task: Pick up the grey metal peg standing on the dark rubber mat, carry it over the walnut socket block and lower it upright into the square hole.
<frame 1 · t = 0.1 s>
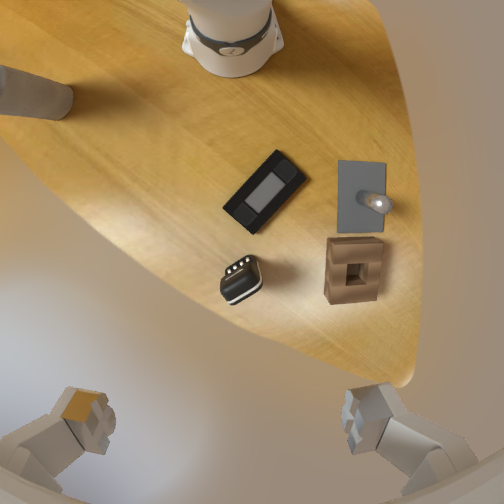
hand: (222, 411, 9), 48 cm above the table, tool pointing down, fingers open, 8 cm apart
mat: (361, 197, 55), on the table
peg: (362, 197, 54), resting on mat
hole block: (348, 265, 59), on the table
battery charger: (240, 265, 58), on the table
vhs tape: (263, 191, 55), on the table
thermos bottle: (59, 102, 46), on the table
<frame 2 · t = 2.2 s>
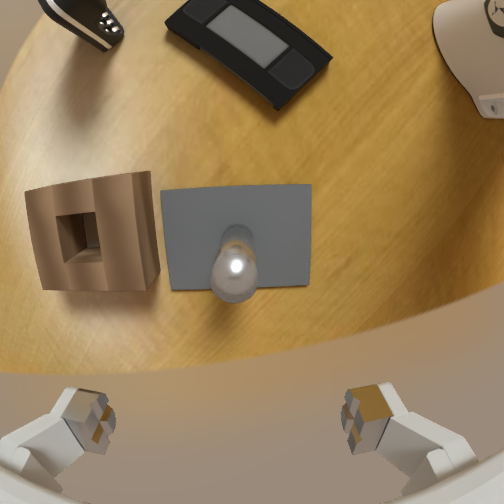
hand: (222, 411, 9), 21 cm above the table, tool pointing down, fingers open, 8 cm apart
mat: (237, 238, 29), on the table
peg: (237, 239, 28), resting on mat
hole block: (101, 225, 28), on the table
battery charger: (107, 26, 21), on the table
vhs tape: (247, 41, 23), on the table
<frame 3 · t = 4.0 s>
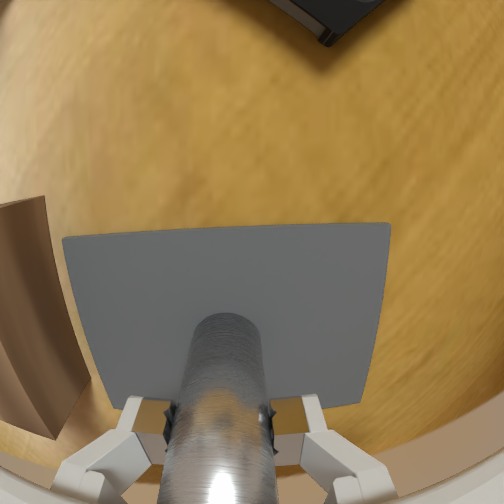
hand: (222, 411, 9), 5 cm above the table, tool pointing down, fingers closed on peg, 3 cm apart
mat: (227, 337, 13), on the table
peg: (226, 342, 13), resting on mat, touching gripper
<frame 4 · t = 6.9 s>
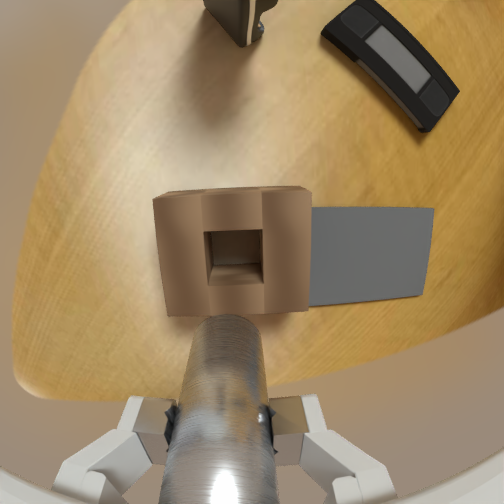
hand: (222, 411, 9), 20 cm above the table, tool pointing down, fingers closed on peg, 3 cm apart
mat: (374, 255, 29), on the table
peg: (227, 343, 13), point 16 cm above the table, touching gripper
hole block: (235, 241, 28), on the table
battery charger: (238, 18, 22), on the table
vhs tape: (390, 63, 23), on the table
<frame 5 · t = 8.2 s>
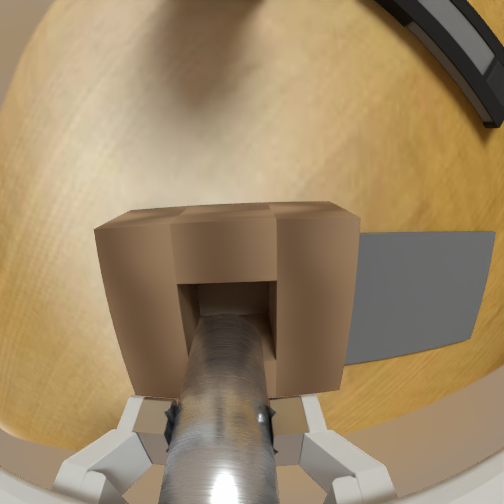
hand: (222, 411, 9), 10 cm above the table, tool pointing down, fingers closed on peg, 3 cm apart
mat: (422, 296, 20), on the table
peg: (227, 343, 13), point 6 cm above the table, touching gripper
hole block: (232, 284, 19), on the table
vhs tape: (445, 34, 14), on the table
when the fingers open (6 cm above the table, at t = 9.3 s): peg drops 2 cm, resting in hole block.
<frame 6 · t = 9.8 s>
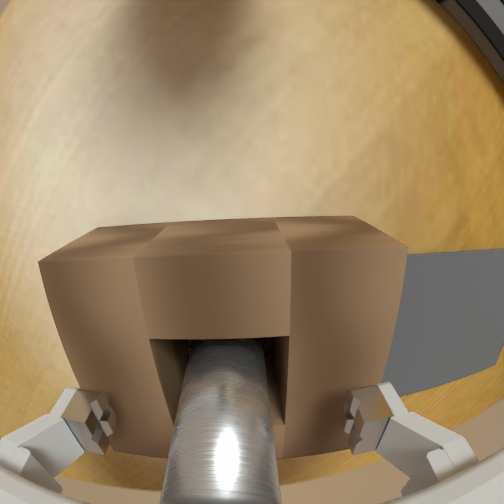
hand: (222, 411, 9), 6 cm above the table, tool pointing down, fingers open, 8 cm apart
mat: (452, 325, 15), on the table
peg: (229, 321, 14), resting in hole block
hole block: (227, 320, 14), on the table
vhs tape: (479, 18, 10), on the table
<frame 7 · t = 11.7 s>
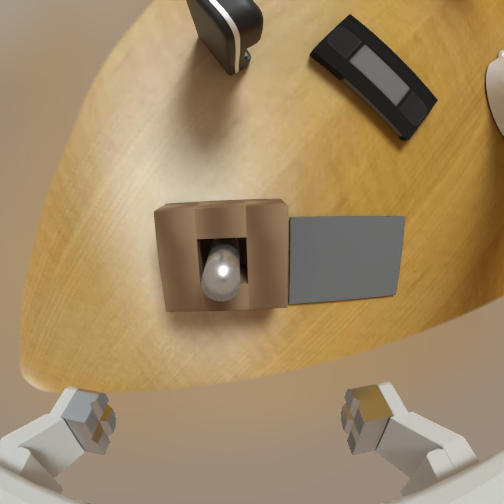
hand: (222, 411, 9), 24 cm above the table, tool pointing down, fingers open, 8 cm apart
mat: (348, 259, 33), on the table
peg: (225, 247, 32), resting in hole block
hole block: (224, 246, 32), on the table
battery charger: (228, 47, 26), on the table
vhs tape: (373, 78, 28), on the table
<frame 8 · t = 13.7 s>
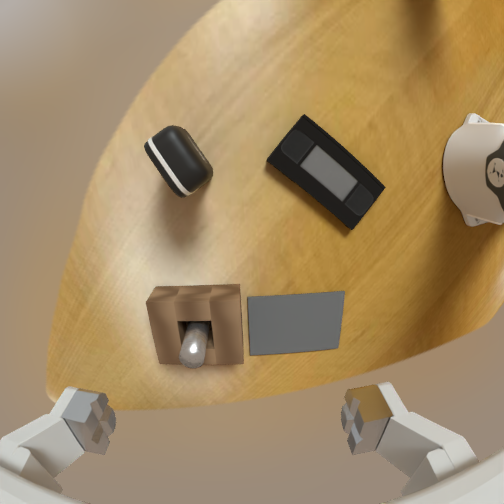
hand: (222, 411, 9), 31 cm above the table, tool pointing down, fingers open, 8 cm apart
mat: (296, 324, 43), on the table
peg: (200, 317, 42), resting in hole block
hole block: (200, 316, 42), on the table
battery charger: (194, 159, 36), on the table
vhs tape: (325, 172, 37), on the table
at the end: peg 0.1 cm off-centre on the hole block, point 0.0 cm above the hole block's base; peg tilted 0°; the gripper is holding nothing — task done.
